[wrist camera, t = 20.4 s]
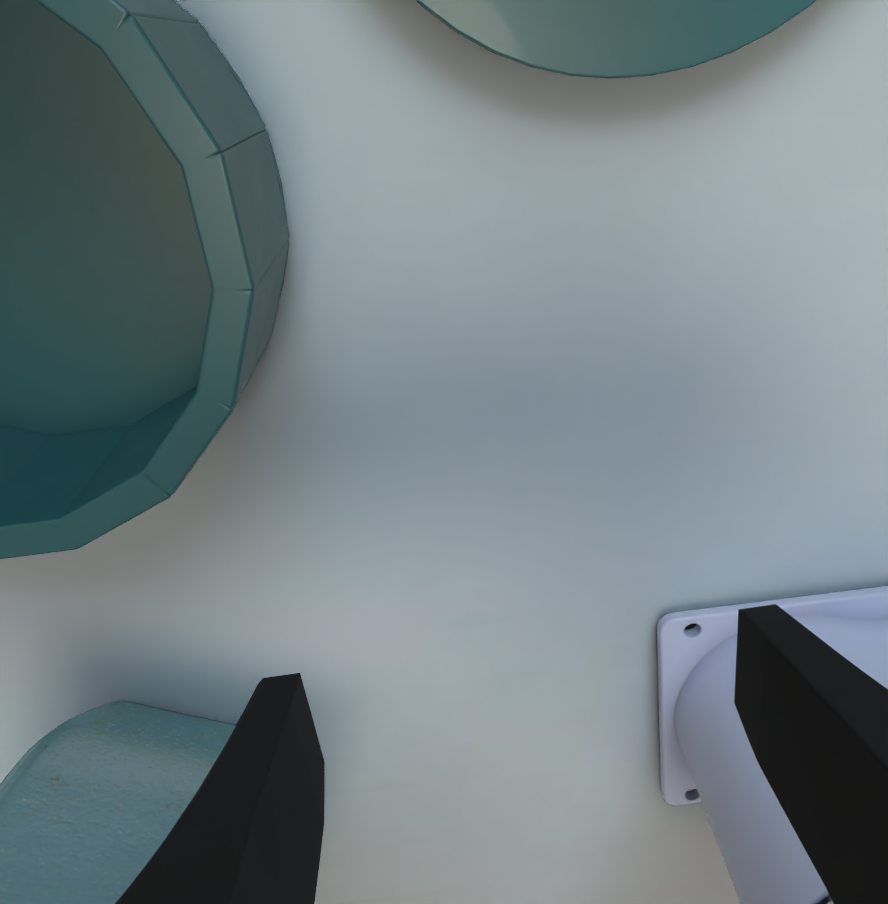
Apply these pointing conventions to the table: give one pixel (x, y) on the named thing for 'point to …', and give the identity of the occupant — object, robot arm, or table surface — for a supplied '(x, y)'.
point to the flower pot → (99, 801)
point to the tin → (123, 260)
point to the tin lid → (613, 31)
